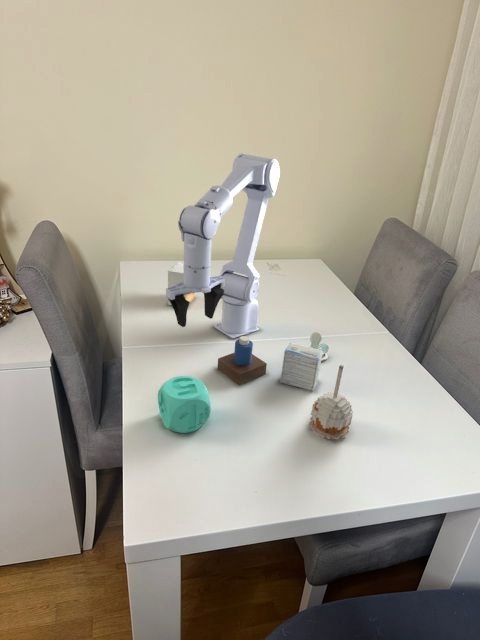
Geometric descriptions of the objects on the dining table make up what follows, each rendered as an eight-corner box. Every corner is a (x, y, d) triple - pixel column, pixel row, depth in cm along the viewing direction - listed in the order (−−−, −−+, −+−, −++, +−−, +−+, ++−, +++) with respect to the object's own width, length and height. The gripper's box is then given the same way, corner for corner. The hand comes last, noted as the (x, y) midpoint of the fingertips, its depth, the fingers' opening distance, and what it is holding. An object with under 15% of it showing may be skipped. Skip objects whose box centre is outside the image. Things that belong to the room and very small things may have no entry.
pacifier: (332, 362, 122) (323, 349, 127) (337, 340, 118) (327, 328, 123) (305, 364, 120) (296, 351, 124) (309, 342, 116) (300, 329, 121)
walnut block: (243, 359, 119) (244, 348, 117) (265, 374, 114) (266, 363, 112) (217, 369, 114) (217, 358, 112) (239, 385, 109) (240, 374, 107)
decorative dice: (170, 437, 92) (170, 403, 88) (157, 413, 98) (157, 379, 94) (210, 427, 95) (211, 394, 91) (195, 404, 101) (196, 372, 97)
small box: (186, 308, 140) (186, 273, 134) (167, 305, 140) (167, 270, 135) (194, 297, 147) (195, 264, 141) (177, 294, 147) (177, 261, 142)
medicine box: (317, 382, 113) (323, 350, 109) (313, 392, 109) (319, 359, 105) (285, 373, 115) (289, 341, 110) (279, 383, 111) (284, 350, 107)
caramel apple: (322, 411, 103) (334, 350, 96) (354, 428, 99) (369, 366, 92) (301, 428, 98) (312, 364, 90) (334, 446, 94) (349, 382, 86)
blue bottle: (238, 354, 114) (240, 332, 111) (253, 359, 113) (256, 336, 110) (230, 362, 111) (232, 339, 108) (246, 367, 110) (248, 344, 107)
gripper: (179, 276, 97) (179, 336, 104) (235, 264, 106) (231, 319, 113) (160, 265, 102) (160, 323, 108) (215, 254, 111) (212, 308, 117)
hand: (195, 320), depth 111 cm, fingers open, 7 cm apart
